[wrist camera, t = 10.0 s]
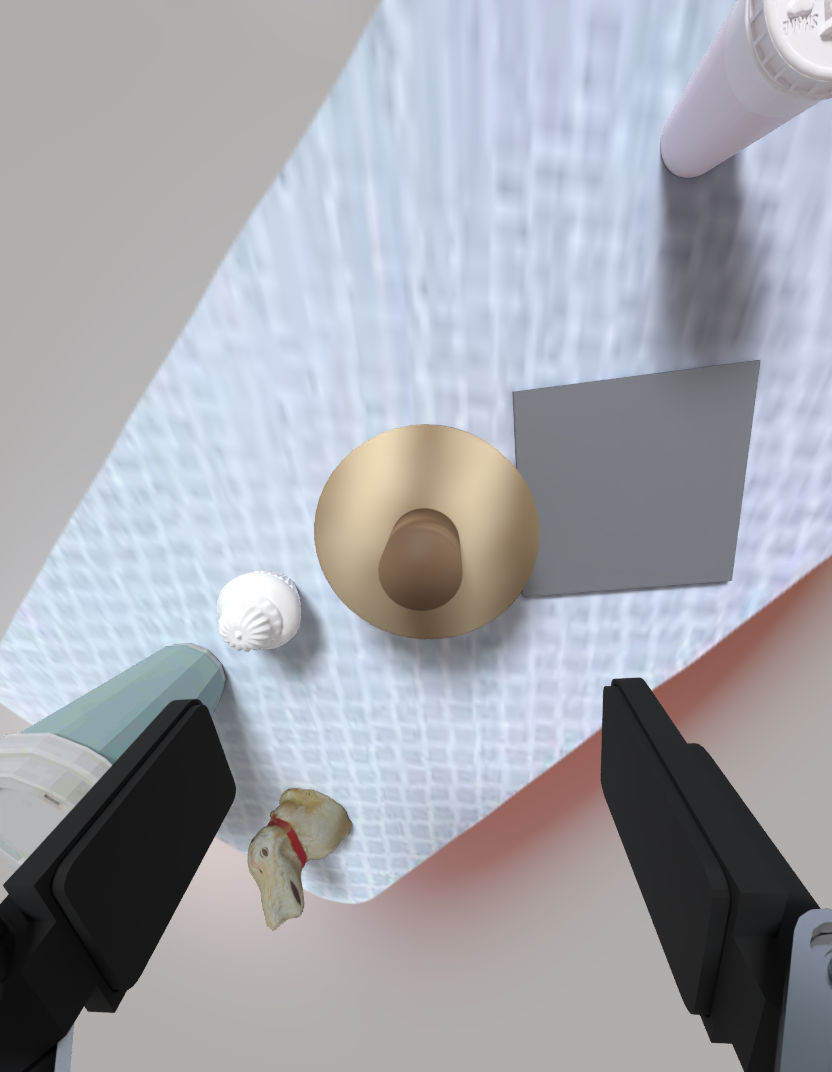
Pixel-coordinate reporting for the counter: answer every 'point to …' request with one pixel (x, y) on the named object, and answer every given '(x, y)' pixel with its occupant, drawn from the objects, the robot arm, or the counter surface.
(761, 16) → the smoothie
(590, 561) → the mat
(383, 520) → the lid
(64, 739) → the disposable coffee cup
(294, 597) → the white cupcake
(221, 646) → the counter surface
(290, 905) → the chocolate bunny
